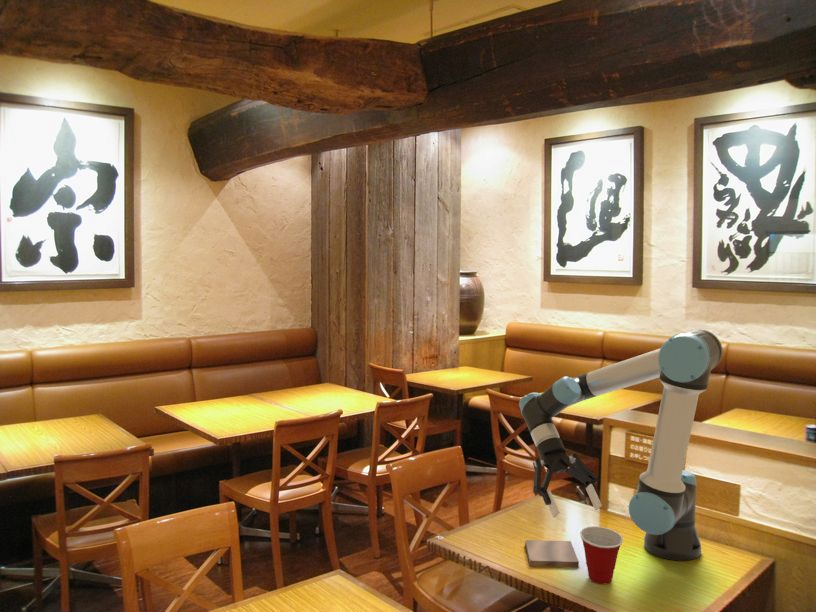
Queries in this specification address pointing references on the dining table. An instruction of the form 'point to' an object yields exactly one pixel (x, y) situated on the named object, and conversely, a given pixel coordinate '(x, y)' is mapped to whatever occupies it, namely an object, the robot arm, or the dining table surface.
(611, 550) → the plastic cup
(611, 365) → the robot arm
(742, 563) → the dining table surface
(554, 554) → the walnut coaster board
